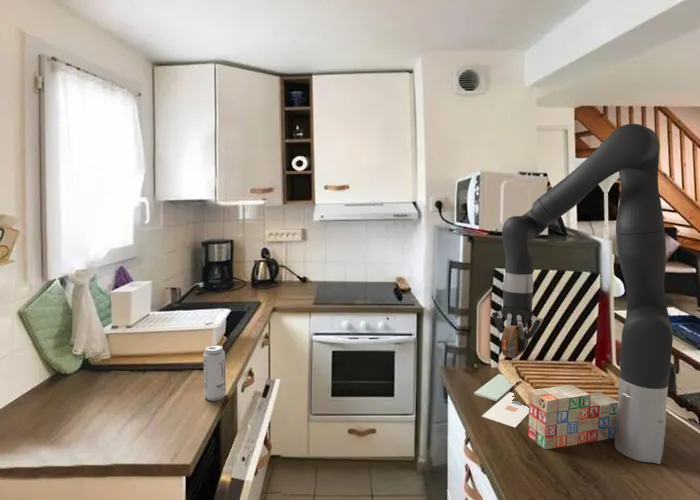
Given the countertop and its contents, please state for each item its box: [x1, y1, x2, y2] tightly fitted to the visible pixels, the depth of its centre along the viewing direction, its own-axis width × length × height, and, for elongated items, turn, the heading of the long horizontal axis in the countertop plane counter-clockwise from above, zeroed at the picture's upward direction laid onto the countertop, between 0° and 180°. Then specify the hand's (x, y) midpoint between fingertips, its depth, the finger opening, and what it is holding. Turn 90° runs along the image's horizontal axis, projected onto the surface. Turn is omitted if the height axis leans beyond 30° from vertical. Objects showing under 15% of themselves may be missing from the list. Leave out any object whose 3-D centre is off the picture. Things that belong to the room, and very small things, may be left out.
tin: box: [501, 323, 530, 359], centre depth 120 cm, size 15×3×8 cm, turn 139°
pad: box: [474, 373, 513, 402], centre depth 136 cm, size 7×19×1 cm, turn 139°
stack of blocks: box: [527, 384, 618, 450], centre depth 107 cm, size 21×6×12 cm, turn 105°
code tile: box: [481, 391, 529, 428], centre depth 122 cm, size 9×20×1 cm, turn 140°
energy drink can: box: [203, 344, 227, 402], centre depth 128 cm, size 6×6×15 cm
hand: (515, 350), depth 120 cm, fingers closed on tin, 2 cm apart
